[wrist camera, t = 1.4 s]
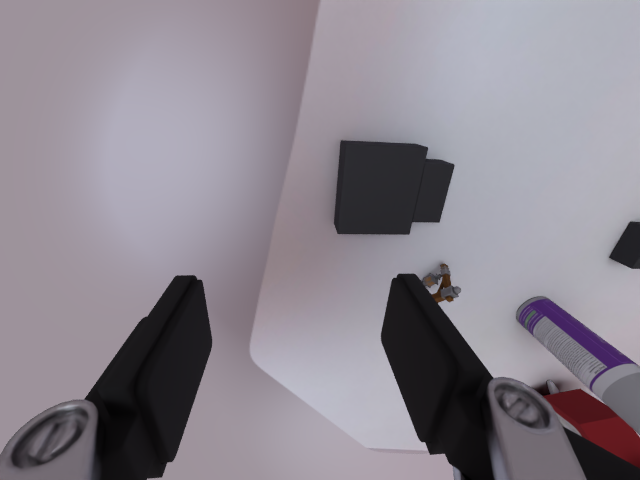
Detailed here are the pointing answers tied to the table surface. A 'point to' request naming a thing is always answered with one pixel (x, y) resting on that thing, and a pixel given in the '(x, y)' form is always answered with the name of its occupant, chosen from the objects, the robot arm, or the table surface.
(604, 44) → the table surface
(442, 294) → the brown jointed two-tone fixture
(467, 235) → the table surface
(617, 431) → the alarm clock
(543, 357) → the table surface
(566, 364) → the container
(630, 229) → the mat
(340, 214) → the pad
